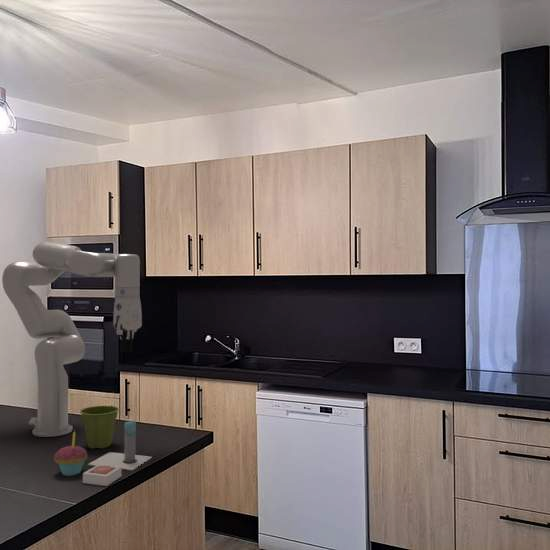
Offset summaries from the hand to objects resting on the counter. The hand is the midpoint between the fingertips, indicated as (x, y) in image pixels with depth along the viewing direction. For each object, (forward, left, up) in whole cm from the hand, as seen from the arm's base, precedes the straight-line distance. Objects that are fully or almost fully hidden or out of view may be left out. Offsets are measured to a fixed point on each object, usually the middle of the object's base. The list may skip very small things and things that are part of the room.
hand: (126, 351), depth 181 cm
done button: (+10, -29, -29) cm, 42 cm away
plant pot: (-7, -4, -29) cm, 30 cm away
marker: (+10, -15, -29) cm, 34 cm away
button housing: (+10, -29, -29) cm, 42 cm away
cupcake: (-1, -27, -29) cm, 40 cm away
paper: (+7, -15, -29) cm, 33 cm away
